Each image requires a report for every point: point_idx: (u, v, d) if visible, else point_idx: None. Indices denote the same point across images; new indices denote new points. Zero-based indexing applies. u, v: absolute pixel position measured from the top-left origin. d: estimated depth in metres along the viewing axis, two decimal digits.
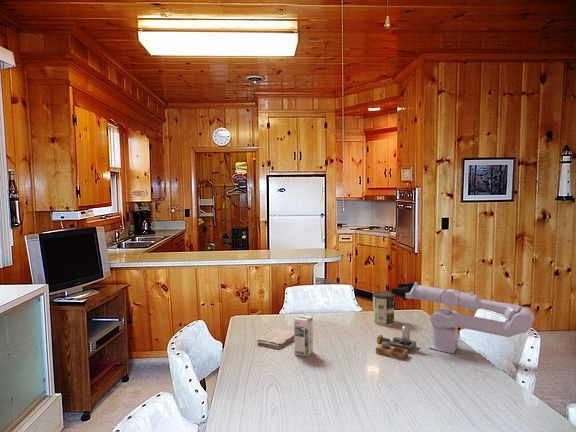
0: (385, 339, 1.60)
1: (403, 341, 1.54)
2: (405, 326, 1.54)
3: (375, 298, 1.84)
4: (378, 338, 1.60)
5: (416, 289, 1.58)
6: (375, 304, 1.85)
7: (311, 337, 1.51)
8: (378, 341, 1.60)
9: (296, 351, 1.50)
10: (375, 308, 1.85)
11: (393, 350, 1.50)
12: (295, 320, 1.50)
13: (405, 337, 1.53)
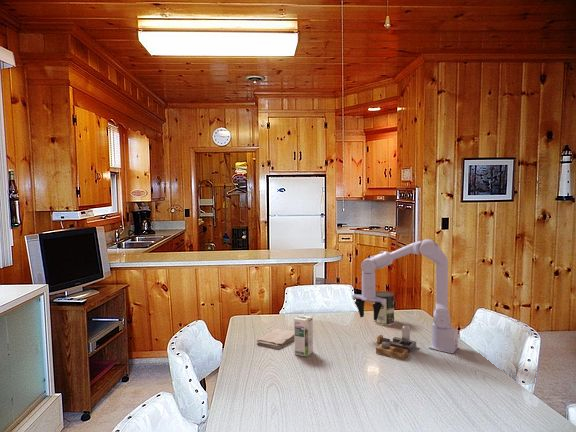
0: (385, 339, 1.60)
1: (403, 341, 1.54)
2: (405, 326, 1.54)
3: None
4: (378, 338, 1.60)
5: (371, 296, 1.61)
6: None
7: (311, 337, 1.51)
8: (378, 341, 1.60)
9: (296, 351, 1.50)
10: None
11: (393, 350, 1.50)
12: (295, 320, 1.50)
13: (405, 337, 1.53)
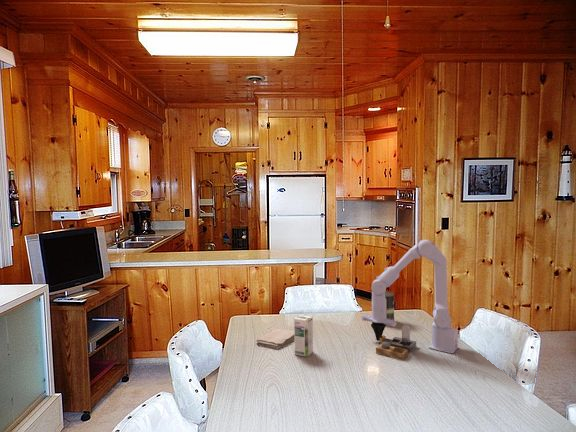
0: (388, 340, 1.59)
1: (403, 341, 1.54)
2: (405, 326, 1.54)
3: None
4: (381, 339, 1.60)
5: (381, 318, 1.59)
6: None
7: (311, 337, 1.51)
8: (381, 342, 1.60)
9: (296, 351, 1.50)
10: None
11: (393, 350, 1.50)
12: (295, 320, 1.50)
13: (405, 337, 1.53)
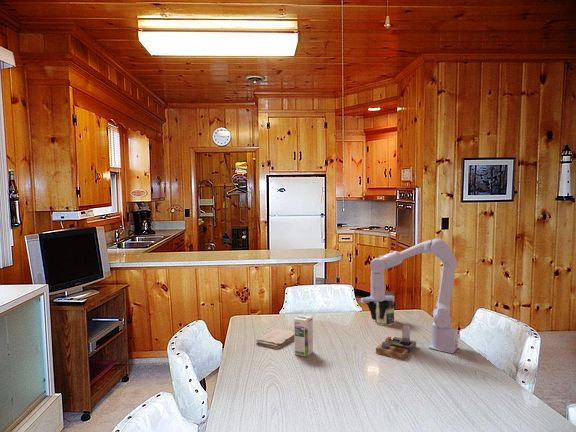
0: (394, 341, 1.58)
1: (403, 341, 1.54)
2: (405, 326, 1.54)
3: None
4: (386, 340, 1.58)
5: (384, 295, 1.60)
6: None
7: (311, 337, 1.51)
8: None
9: (296, 351, 1.50)
10: None
11: (393, 350, 1.50)
12: (295, 320, 1.50)
13: (405, 337, 1.53)
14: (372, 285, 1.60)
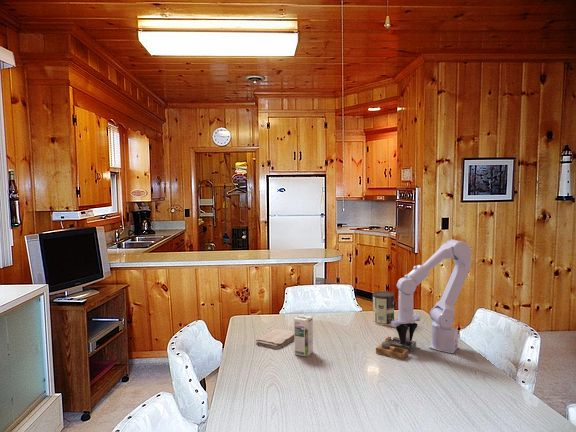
0: (394, 341, 1.58)
1: None
2: (405, 326, 1.54)
3: (375, 298, 1.84)
4: (386, 340, 1.58)
5: None
6: (375, 304, 1.85)
7: (311, 337, 1.51)
8: None
9: (296, 351, 1.50)
10: (375, 308, 1.85)
11: (393, 350, 1.50)
12: (295, 320, 1.50)
13: None
14: (402, 307, 1.52)
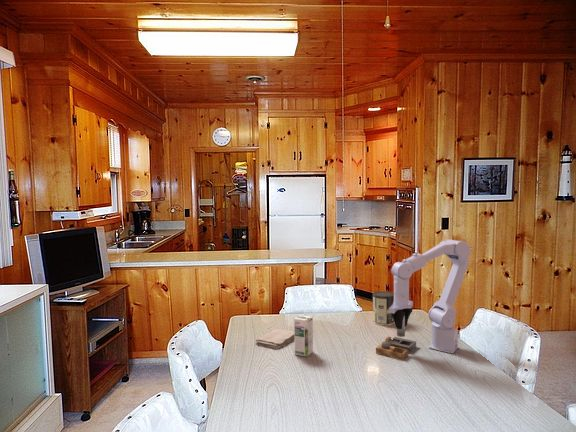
0: (394, 341, 1.58)
1: None
2: None
3: (375, 298, 1.84)
4: (386, 340, 1.58)
5: None
6: (375, 304, 1.85)
7: (311, 337, 1.51)
8: None
9: (296, 351, 1.50)
10: (375, 308, 1.85)
11: (393, 350, 1.50)
12: (295, 320, 1.50)
13: None
14: (399, 292, 1.47)
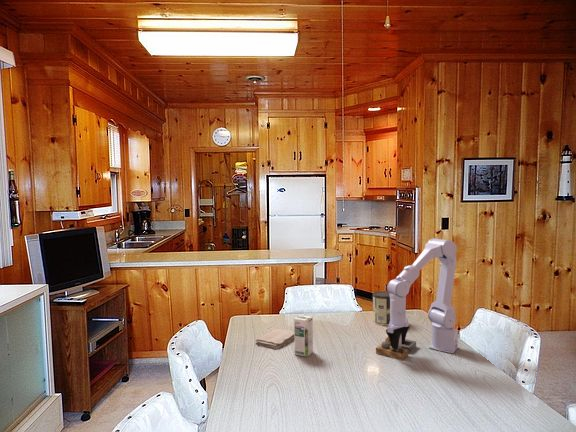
0: None
1: None
2: None
3: (375, 298, 1.84)
4: (386, 340, 1.58)
5: None
6: (375, 304, 1.85)
7: (311, 337, 1.51)
8: None
9: (296, 351, 1.50)
10: (375, 308, 1.85)
11: (393, 350, 1.50)
12: (295, 320, 1.50)
13: None
14: (397, 310, 1.44)
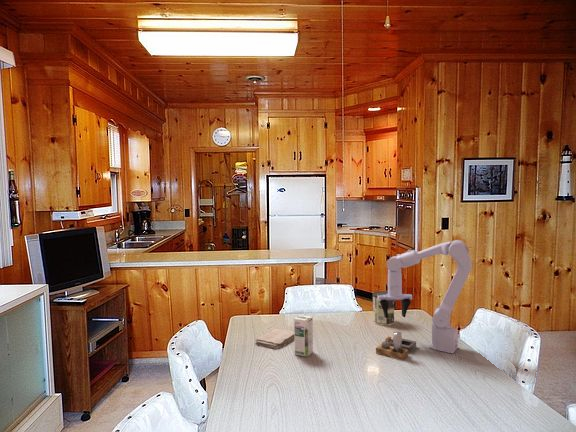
0: None
1: (396, 348, 1.46)
2: (397, 333, 1.47)
3: (375, 298, 1.84)
4: (386, 340, 1.58)
5: (401, 294, 1.60)
6: (375, 304, 1.85)
7: (311, 337, 1.51)
8: None
9: (296, 351, 1.50)
10: (375, 308, 1.85)
11: (393, 350, 1.50)
12: (295, 320, 1.50)
13: (397, 344, 1.46)
14: (389, 283, 1.61)
